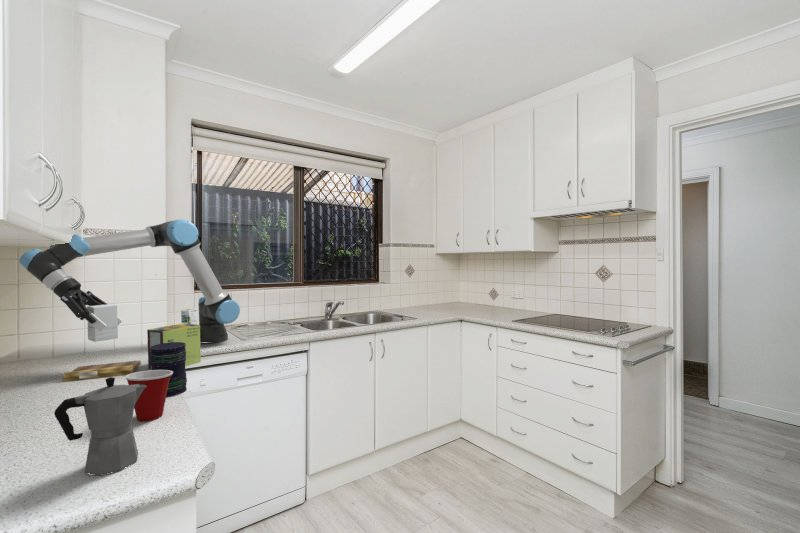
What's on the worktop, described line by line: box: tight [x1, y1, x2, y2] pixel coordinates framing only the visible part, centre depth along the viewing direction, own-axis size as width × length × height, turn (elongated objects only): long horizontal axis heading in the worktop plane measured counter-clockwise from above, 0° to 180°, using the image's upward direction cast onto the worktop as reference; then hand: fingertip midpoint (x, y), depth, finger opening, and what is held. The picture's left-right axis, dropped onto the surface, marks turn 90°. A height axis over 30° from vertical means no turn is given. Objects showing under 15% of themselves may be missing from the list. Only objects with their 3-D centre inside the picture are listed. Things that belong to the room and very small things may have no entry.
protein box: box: [146, 323, 202, 370], centre depth 153 cm, size 10×15×16 cm
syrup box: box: [180, 308, 198, 325], centre depth 214 cm, size 6×6×14 cm
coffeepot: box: [54, 376, 147, 476], centre depth 78 cm, size 15×9×18 cm, turn 144°
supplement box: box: [86, 303, 119, 343], centre depth 143 cm, size 7×7×13 cm
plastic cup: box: [124, 369, 173, 422], centre depth 103 cm, size 11×11×12 cm
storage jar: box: [150, 342, 188, 398], centre depth 122 cm, size 10×10×15 cm
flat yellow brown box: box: [63, 359, 142, 382], centre depth 144 cm, size 20×15×3 cm
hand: (111, 325), depth 144 cm, fingers closed on supplement box, 10 cm apart
